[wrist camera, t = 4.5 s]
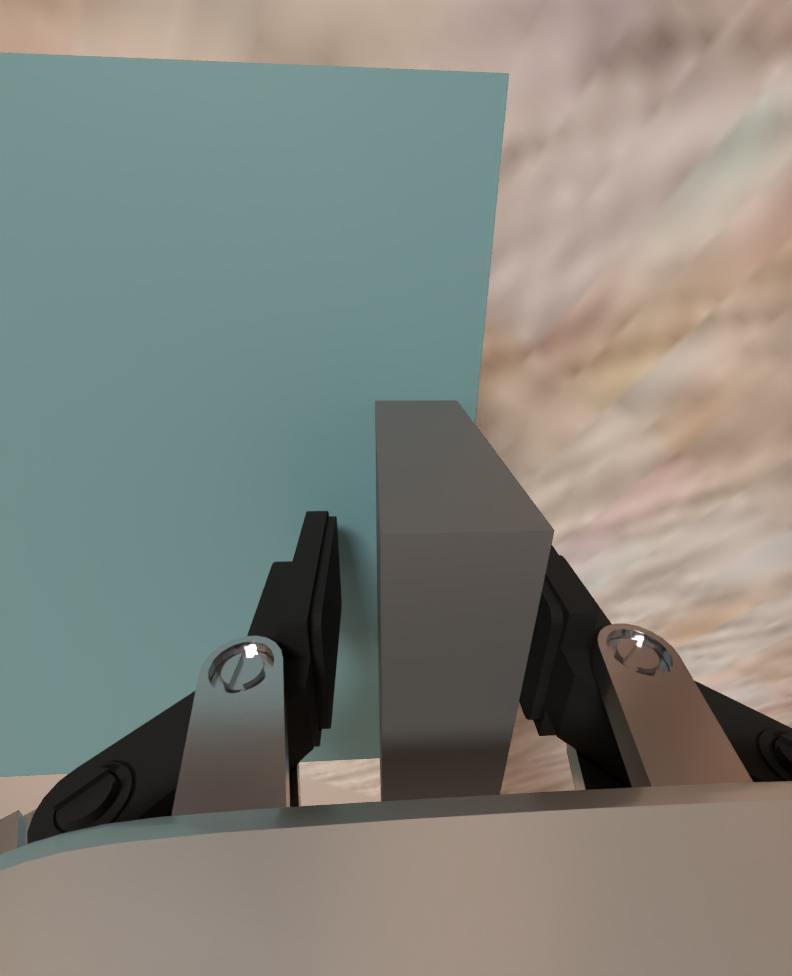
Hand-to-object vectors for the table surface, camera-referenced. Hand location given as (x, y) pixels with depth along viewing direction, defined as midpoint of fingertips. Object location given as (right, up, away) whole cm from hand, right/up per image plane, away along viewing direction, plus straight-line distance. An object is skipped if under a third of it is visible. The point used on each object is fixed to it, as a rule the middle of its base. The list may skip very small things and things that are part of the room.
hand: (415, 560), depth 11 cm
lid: (-11, +1, +1) cm, 11 cm away
